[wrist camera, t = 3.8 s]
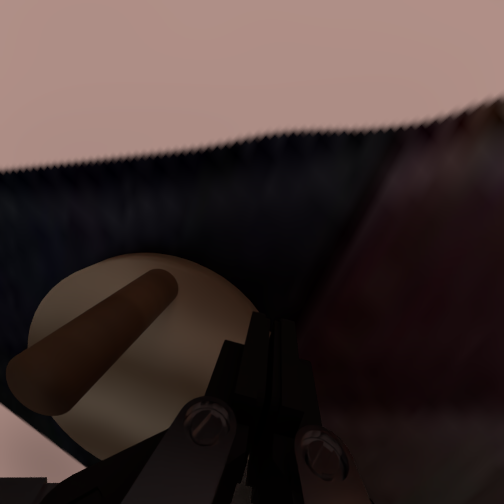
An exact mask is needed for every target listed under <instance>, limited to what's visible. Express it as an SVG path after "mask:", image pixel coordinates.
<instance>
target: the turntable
mask: <svg viewBox="0 0 504 504" xmlns="http://www.w3.org/2000/svg"><path fill="white" fill-rule="evenodd" d="M252 311H255V312H258V310H257V309H256V308H255V306H254V305H253V304H252V303H251V301H250V300H249V299H248V298H247V297H246V296H245V295H244V294H243V293H242V292H241V291H240V290H239V289H238V288H236V287H235V286H234V285H233V284H231V283H230V282H229V281H227V280H226V279H225V278H224V277H222V276H220V275H219V274H217V273H215V272H214V271H212V270H210V269H208V268H206V267H204V266H202V265H200V264H197V263H195V262H193V261H190V260H186V259H183V258H180V257H177V256H172V255H166V254H160V253H132V254H124V255H120V256H116V257H111V258H109V259H106V260H104V261H101V262H99V263H96V264H94V265H92V266H89V267H87V268H84V269H82V270H80V271H77V272H75V273H73V274H72V275H70V276H68V277H67V278H65V279H63V280H62V281H61V282H60V283H58V284H57V285H56V286H55V287H54V288H53V289H51V290H50V292H49V293H48V294H47V295H46V297H45V298H44V299H43V300H42V302H41V303H40V305H39V307H38V309H37V311H36V312H35V315H34V317H33V320H32V323H31V326H30V331H29V337H28V349H26V350H24V351H23V352H21V353H20V354H18V355H17V356H15V357H14V358H13V359H11V361H10V362H9V364H8V366H7V369H6V379H7V383H8V386H9V388H10V390H11V391H12V393H13V394H14V396H15V397H16V398H17V399H18V400H19V401H20V402H21V403H22V404H23V405H24V406H26V407H27V408H29V409H31V410H32V411H34V412H37V413H39V414H43V415H47V416H52V417H53V419H54V420H55V421H56V422H57V423H58V424H59V426H60V427H61V428H62V429H63V430H64V431H65V432H66V433H67V434H68V435H69V436H70V437H71V438H72V439H73V440H74V441H75V442H77V443H78V444H79V445H80V446H81V447H83V448H84V449H85V450H87V451H88V452H90V453H91V454H93V455H94V456H96V457H97V458H99V459H101V460H104V459H106V458H108V457H110V456H112V455H115V454H117V453H119V452H121V451H123V450H125V449H127V448H129V447H131V446H133V445H135V444H137V443H139V442H141V441H143V440H145V439H147V438H150V437H152V436H154V435H156V434H158V433H160V432H162V431H164V430H166V429H168V428H169V427H170V426H171V424H172V423H173V421H174V419H175V418H176V416H177V415H178V413H179V412H180V410H181V409H182V408H183V407H184V405H185V404H186V403H188V402H189V401H191V400H192V399H194V398H198V397H201V396H204V395H205V392H206V390H207V387H208V384H209V381H210V379H211V376H212V373H213V370H214V368H215V365H216V362H217V359H218V357H219V354H220V351H221V348H222V345H223V343H224V340H229V341H233V342H237V343H241V344H245V340H246V336H247V332H248V328H249V324H250V319H251V315H252ZM270 334H271V333H270ZM270 334H269V338H270ZM248 459H249V456H248Z"/></svg>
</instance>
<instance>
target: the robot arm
mask: <svg viewBox="0 0 504 504" xmlns="http://www.w3.org/2000/svg"><path fill="white" fill-rule="evenodd" d="M270 320H271V319H267V318H266V314H263V313H259V312H255V311H252V315H251V319H250V324H249V328H248V332H247V336H246V340H245V344H241V343H237V342H233V341H229V340H224V343H223V345H222V348H221V351H220V354H219V357H218V359H217V362H216V365H215V368H214V370H213V373H212V376H211V379H210V381H209V384H208V387H207V390H206V392H205V395H204V396H201V397H198V398H194V399H192V400H191V401H189V402H188V403H186V404H185V405H184V407H183V408H182V409H181V410H180V412H179V413H178V415H177V416H176V418H175V419H174V421H173V423H172V424H171V426H170V427H169V428H168V429H166V430H164V431H162V432H160V433H158V434H156V435H154V436H152V437H150V438H147V439H145V440H143V441H141V442H139V443H137V444H135V445H133V446H131V447H129V448H127V449H125V450H123V451H121V452H119V453H117V454H115V455H112V456H110V457H108V458H106V459H104V460H102V461H100V462H98V463H96V464H94V465H92V466H90V467H88V468H86V469H84V470H82V471H80V472H78V473H75V474H73V475H72V476H70V477H68V478H67V479H65V480H64V481H62V482H60V483H47V477H45V478H44V477H38V478H37V477H36V478H32V477H30V478H0V504H230V503H231V501H232V498H233V494H234V491H235V487H236V484H237V483H239V484H240V483H241V480H242V477H243V473H244V470H245V467H246V463H247V460H248V456H249V460H248V469H247V478H246V486H250V487H252V497H251V503H253V504H374V503H373V502H372V500H371V499H370V498H369V496H368V494H367V491H366V489H365V486H364V484H363V481H362V479H361V476H360V474H359V471H358V469H357V466H356V463H355V461H354V458H353V456H352V454H351V453H350V451H349V449H348V447H347V446H346V445H345V443H344V442H343V441H342V440H341V439H340V438H339V437H338V436H337V435H336V434H335V433H333V432H332V431H330V430H329V429H327V428H325V427H322V423H321V418H320V412H319V406H318V401H317V395H316V389H315V383H314V378H313V372H312V366H311V363H310V362H309V361H306V360H302V359H299V356H298V346H297V337H296V328H295V322H294V321H291V320H287V319H283V318H280V320H279V321H274V323H273V327H272V330H271V334H270ZM269 334H270V338H269Z"/></svg>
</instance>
